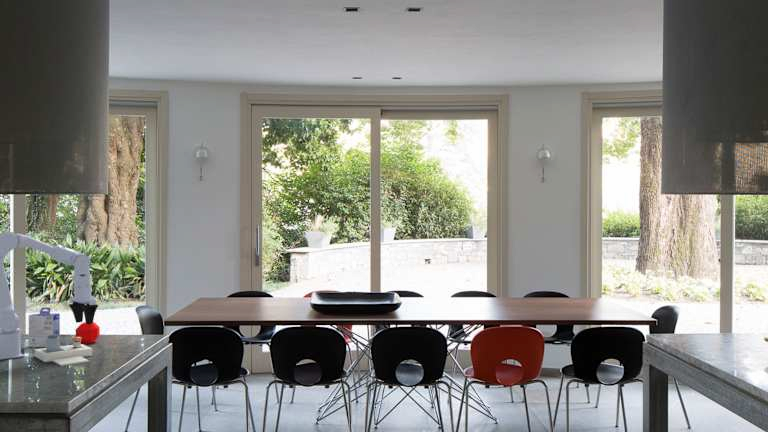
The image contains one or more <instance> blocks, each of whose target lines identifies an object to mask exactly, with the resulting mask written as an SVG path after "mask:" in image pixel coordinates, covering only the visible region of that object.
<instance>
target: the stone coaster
mask: <svg viewBox="0 0 768 432" xmlns="http://www.w3.org/2000/svg"><path fill="white" fill-rule="evenodd" d="M89 361H90V360H89V359H87V358H85V357H81V356H77V357H70V358H62V359H54V360H53V361H52V362H53V363H55V364H56V365H59V366H62V367H64V366H71V365H77V364H83V363H84V364H85V363H89Z"/></svg>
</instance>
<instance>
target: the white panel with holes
mask: <svg viewBox="0 0 768 432" xmlns="http://www.w3.org/2000/svg"><path fill="white" fill-rule="evenodd" d="M77 356H81V357H83V358H85V357H92V356H93V348H92V347H90V346H87V345H86V344H84V343H83V344H81V348H75V349H73V344H68V345H60V351H57V352H49V353H46V347H41V348H36V349H35V348H34V357H35V358H37V359H38V360H40V361H42V362H43V363H46V362H47V363H48V362H53V360H54V359H62V358H70V357H77Z"/></svg>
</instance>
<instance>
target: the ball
mask: <svg viewBox="0 0 768 432" xmlns="http://www.w3.org/2000/svg"><path fill="white" fill-rule="evenodd" d="M100 330H101V329H100V326H99V325H98V324H97V323H96V322H94V321H93V324H88V325H87V324H86V321H84V322H83V321H82V322H81V324H79V326H77V327H76V328H75V337H82V340H81V343H83V344H93V343H94V342H95V341H96V340H97V339H98V338H99V337H100V336H101V333H100Z"/></svg>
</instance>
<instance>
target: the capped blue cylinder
mask: <svg viewBox="0 0 768 432" xmlns="http://www.w3.org/2000/svg"><path fill="white" fill-rule="evenodd" d="M60 346H61V336H60V337H58V335H48V337H47V338H46V347H45V348H46V353H49V352H57V351H60Z"/></svg>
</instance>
